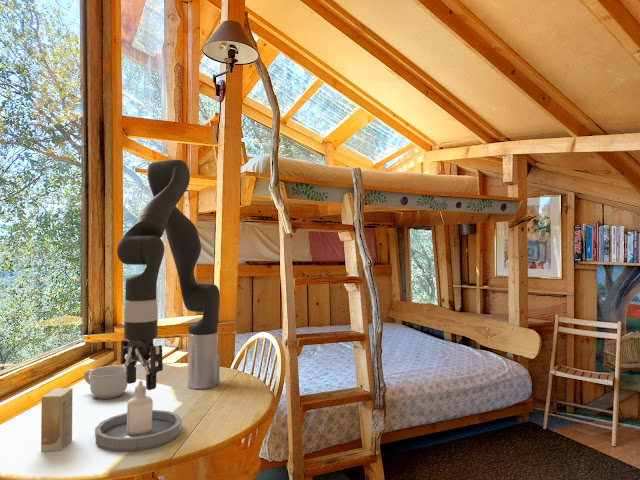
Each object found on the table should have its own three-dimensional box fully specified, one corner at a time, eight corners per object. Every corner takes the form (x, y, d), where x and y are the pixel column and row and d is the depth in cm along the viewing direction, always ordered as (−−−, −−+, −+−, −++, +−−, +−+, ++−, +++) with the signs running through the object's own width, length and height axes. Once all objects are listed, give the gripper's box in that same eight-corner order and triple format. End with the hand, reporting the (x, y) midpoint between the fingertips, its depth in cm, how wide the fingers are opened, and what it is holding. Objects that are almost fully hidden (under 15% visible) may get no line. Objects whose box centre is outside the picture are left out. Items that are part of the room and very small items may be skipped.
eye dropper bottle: (147, 435, 112) (149, 384, 112) (123, 434, 112) (125, 383, 112) (154, 428, 116) (155, 379, 116) (131, 427, 116) (132, 378, 116)
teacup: (135, 393, 147) (135, 367, 148) (106, 403, 138) (107, 375, 138) (103, 387, 153) (103, 362, 153) (73, 397, 143) (73, 370, 144)
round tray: (152, 415, 127) (152, 405, 127) (196, 432, 116) (196, 421, 116) (80, 437, 112) (80, 425, 112) (123, 459, 101) (123, 446, 101)
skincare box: (53, 440, 111) (54, 387, 111) (72, 440, 111) (73, 387, 111) (39, 452, 104) (40, 396, 105) (60, 451, 105) (61, 395, 105)
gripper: (172, 319, 113) (172, 387, 113) (138, 314, 122) (138, 377, 122) (143, 323, 107) (143, 395, 107) (110, 317, 116) (110, 384, 116)
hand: (140, 386), depth 114 cm, fingers open, 8 cm apart
